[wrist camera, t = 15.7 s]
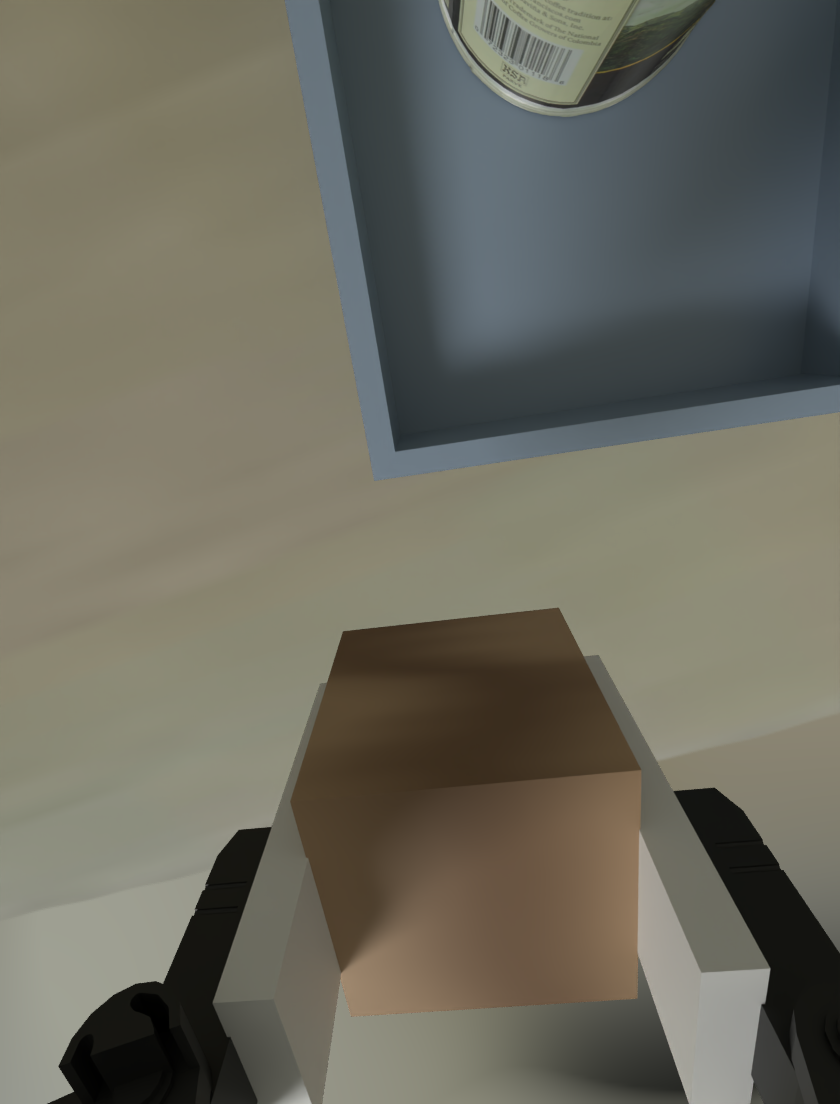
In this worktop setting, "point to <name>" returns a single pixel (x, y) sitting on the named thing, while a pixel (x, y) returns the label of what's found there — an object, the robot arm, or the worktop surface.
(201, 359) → the worktop surface
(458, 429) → the tote
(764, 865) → the robot arm
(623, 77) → the coffee can
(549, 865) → the brown wooden cube
